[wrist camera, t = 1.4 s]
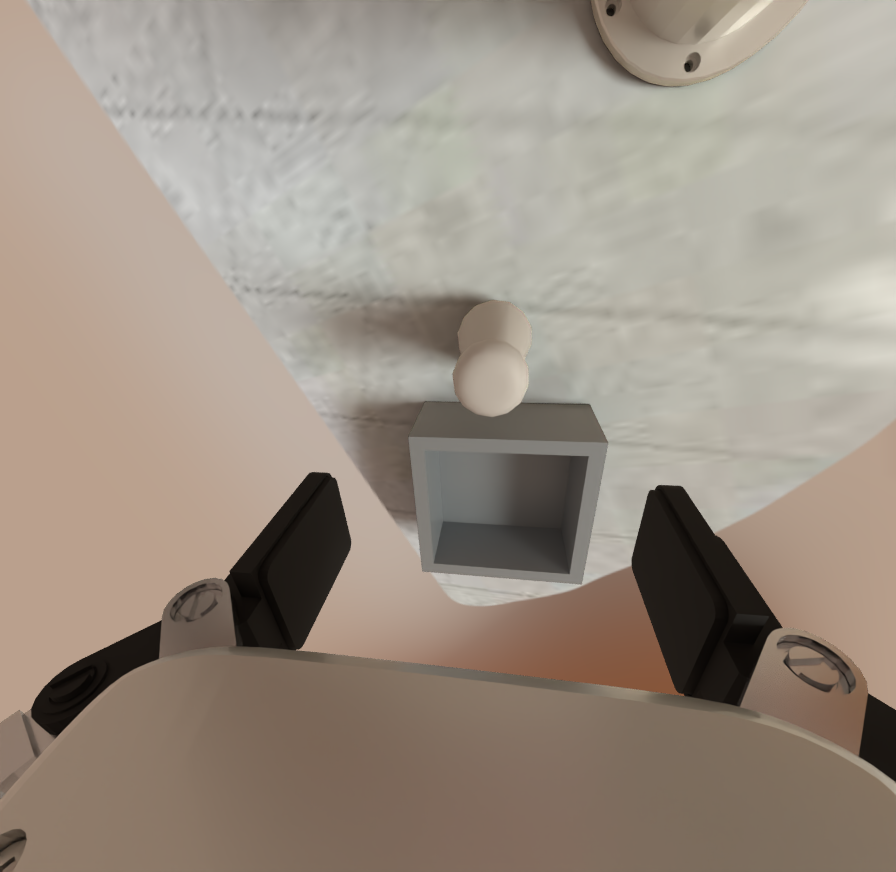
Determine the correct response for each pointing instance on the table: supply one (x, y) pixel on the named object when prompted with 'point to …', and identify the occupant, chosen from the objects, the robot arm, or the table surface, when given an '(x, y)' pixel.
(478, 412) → the salt shaker
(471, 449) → the bin
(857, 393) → the table surface
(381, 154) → the table surface
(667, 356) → the table surface
